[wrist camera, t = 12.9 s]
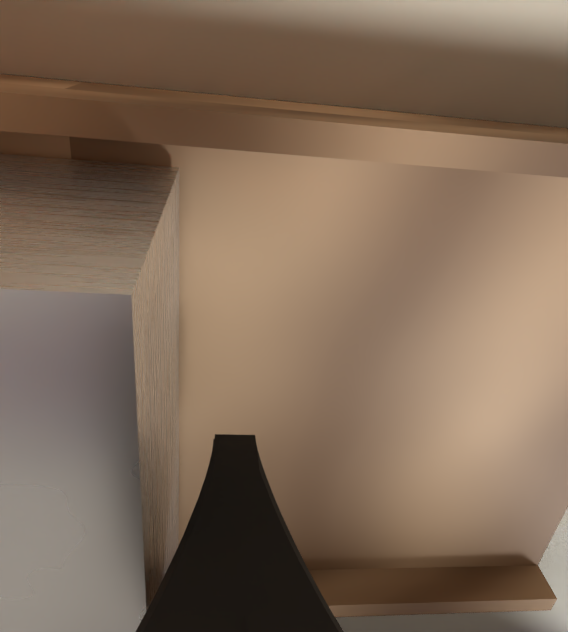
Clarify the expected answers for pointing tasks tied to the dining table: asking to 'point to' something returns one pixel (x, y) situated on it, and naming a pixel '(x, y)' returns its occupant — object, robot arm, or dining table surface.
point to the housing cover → (87, 391)
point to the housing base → (360, 325)
